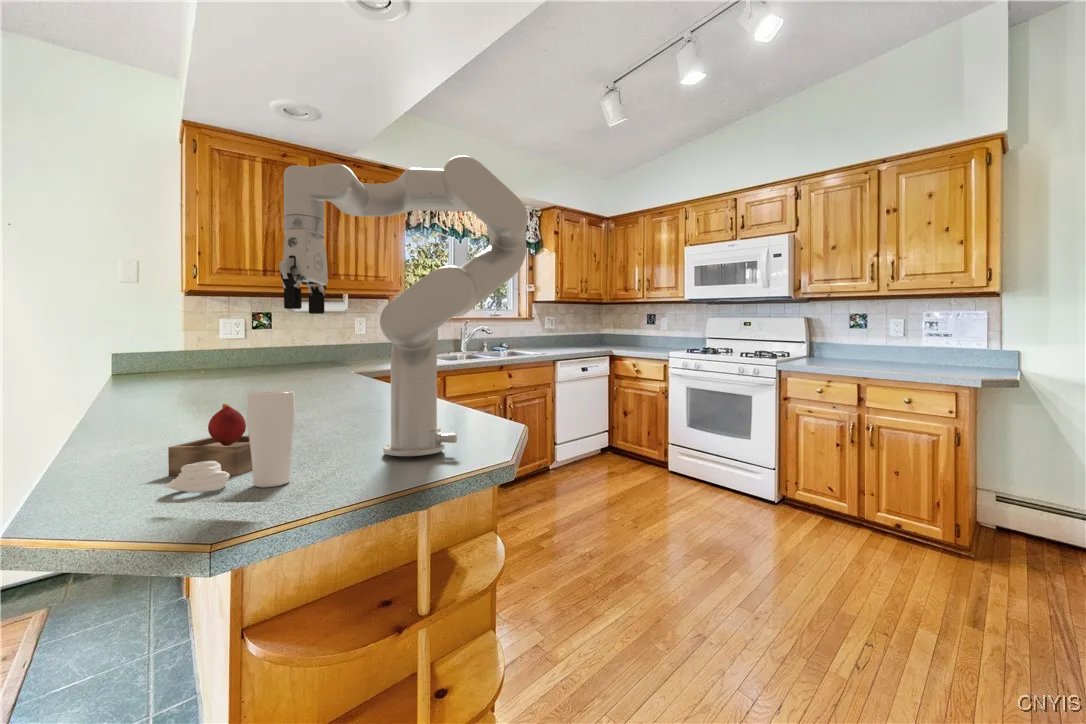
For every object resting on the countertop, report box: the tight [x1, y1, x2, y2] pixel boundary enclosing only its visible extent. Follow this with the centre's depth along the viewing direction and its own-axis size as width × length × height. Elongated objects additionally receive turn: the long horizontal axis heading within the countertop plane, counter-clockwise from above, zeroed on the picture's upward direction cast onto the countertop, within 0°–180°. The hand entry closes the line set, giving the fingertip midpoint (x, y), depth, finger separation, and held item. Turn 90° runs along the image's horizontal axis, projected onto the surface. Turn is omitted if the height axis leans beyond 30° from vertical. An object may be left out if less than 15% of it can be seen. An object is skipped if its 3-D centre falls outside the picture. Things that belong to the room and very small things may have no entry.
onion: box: [207, 403, 247, 446], centre depth 88 cm, size 6×6×8 cm
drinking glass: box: [246, 390, 296, 488], centre depth 76 cm, size 7×7×15 cm
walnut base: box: [167, 435, 252, 477], centre depth 87 cm, size 12×12×5 cm
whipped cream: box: [165, 461, 231, 494], centre depth 72 cm, size 8×7×5 cm
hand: (305, 311), depth 97 cm, fingers open, 9 cm apart
